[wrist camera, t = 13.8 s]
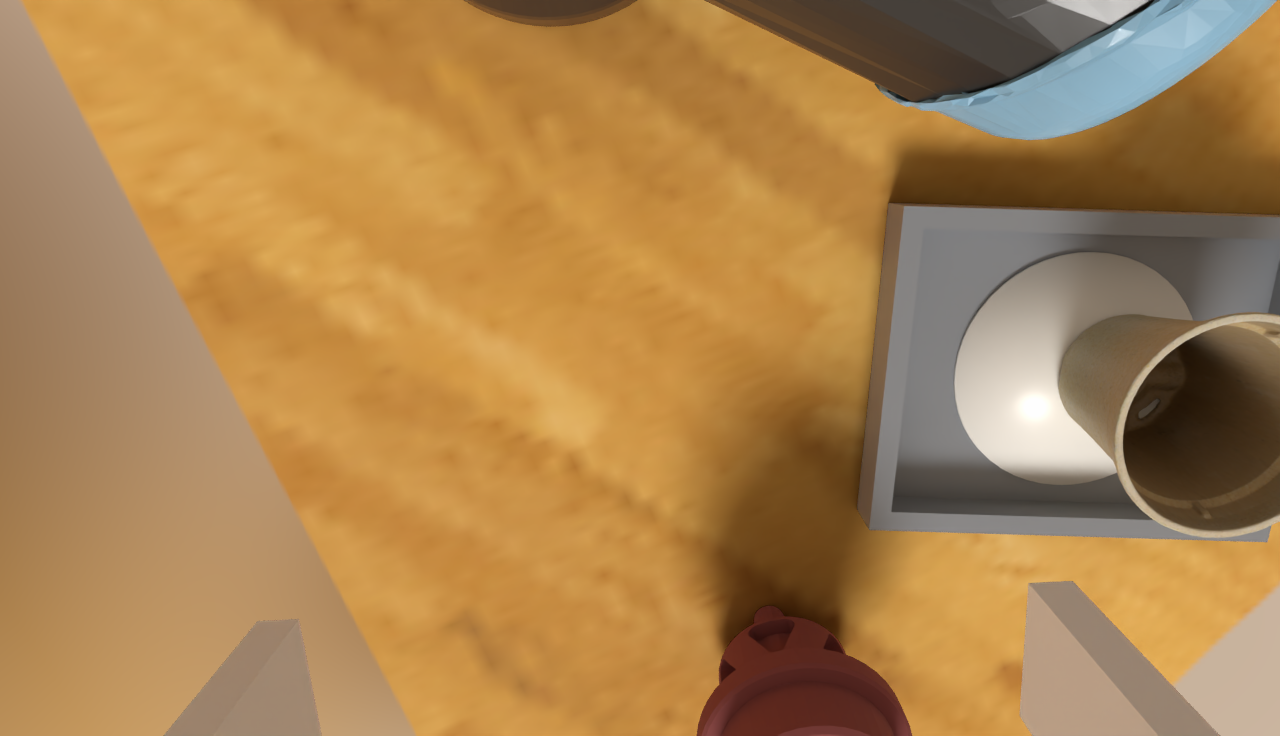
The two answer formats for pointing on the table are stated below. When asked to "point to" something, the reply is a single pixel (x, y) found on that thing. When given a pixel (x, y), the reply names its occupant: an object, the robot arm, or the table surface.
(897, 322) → the housing tray
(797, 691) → the mechanical component
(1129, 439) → the flower pot
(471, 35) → the table surface
